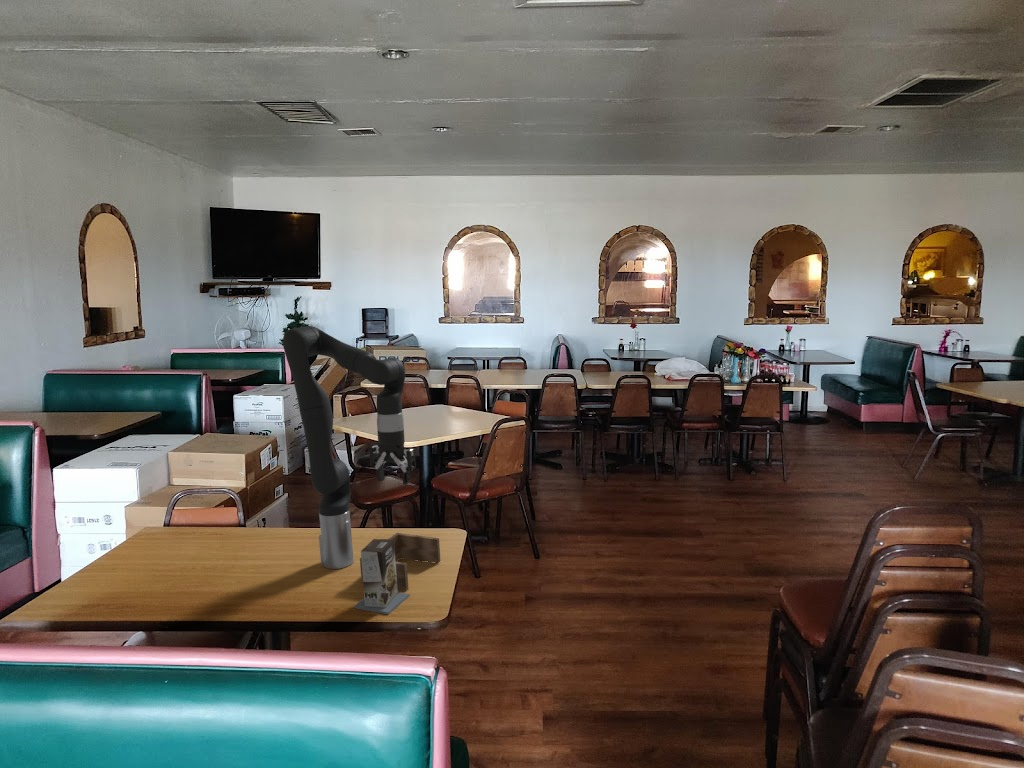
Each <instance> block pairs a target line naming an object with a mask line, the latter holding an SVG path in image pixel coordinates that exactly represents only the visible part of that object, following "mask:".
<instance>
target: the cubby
mask: <svg viewBox="0 0 1024 768" xmlns="http://www.w3.org/2000/svg"><path fill="white" fill-rule="evenodd" d="M388 539H393V540H394V548H395V562H396V575H397V589H398V591H402V592H403V591H405V592H407V591H409V577H408V576H409V575H408V563H407V562H400V561H399V560H400V559H401V558H402V559H403V560H408V559H410V561H415V560H418V561H417V562H422V561H428V562H427V563H429V562H435V563H434V564H436V563H439V562H440V561H441V549H440V548H441V547H440V546H441V545H440V538H439V537H433V536H425V535H424V536H423V535H418V534H417V535H416V534H410V533H408V534H407V533H402V532H396V533H394V534H393V535H392V536H390V537H389V538H388ZM398 559H399V560H398ZM402 559H401V560H402ZM359 563H360V565H359V566H360V576H361V585H363V574H362V561H361V557H359ZM440 563H441V562H440ZM440 563H439V564H440Z"/></svg>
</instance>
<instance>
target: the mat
mask: <svg viewBox="0 0 1024 768" xmlns="http://www.w3.org/2000/svg"><path fill="white" fill-rule="evenodd" d="M410 596H411V594H410V593H405V592H399V591H398V593H397V594H396V596H395V597H394V598H393V599H392V600H391V602H390V603H389V604H388V605H387V606H386V607H385V608H381V607H369V606H365V601H364V598H362V599H361V600H360V601H358V602H357V603H356V604H355V605H354V606H353V609H355V608H356V609H355V610H357V609H358V610H362V611H367V612H373V613H378V614H384V615H389V614H391V613H392V612H393V611H394V610H395V609H397V608H398V606H400V605H401V604H403V602H404V601H406V600H407V599H408V598H409V597H410Z"/></svg>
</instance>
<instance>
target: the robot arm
mask: <svg viewBox="0 0 1024 768" xmlns="http://www.w3.org/2000/svg"><path fill="white" fill-rule="evenodd" d="M282 345H283V351H284V354H285V358H286V361H287V365H288V367H289V371H290V374H291V377H292V381H293V385H294V389H295V393H296V398H297V401H298V402H297V403H298V408H299V414H300V418H301V423H302V427H303V430H304V436H305V441H306V447H307V451H308V453H307V454H308V458H309V460H308V461H309V469H310V470H309V473H310V479H311V483H312V486H313V488H314V490H316V491H317V493H319V494H321V495H322V497H321V499H320V502H319V503H318V515H319V526H320V535H318V544H319V555H320V562H321V563H320V565H321V566H324V567H325V568H326V569H329V570H330V569H332V570H336V569H342V568H347V567H348V566H350V565H352V564H353V563H354V562H355V558H354V548H353V546H354V545H353V535H352V525H351V517H350V516H351V513H350V501H351V498H352V497H351V496H352V495H351V494H352V493H351V476H350V471H349V468H348V466H347V464H346V463H345V462H344V461H343V460H341V459H337V458H333V453H332V436H333V429H334V428H333V427H334V416H333V411H332V406H331V405H332V404H331V400H330V396H329V395H328V394H327V392H326V391H325V389H324V388H323V386H322V385H321V384H320V383H319V382H318V381H317V380H316V378H315V377H314V374H313V372H312V370H311V369H312V368H311V366H310V362H309V358H310V357H313V356H316V355H317V356H324V357H329V358H331V359H332V360H334V361H335V362H336V364H338V365H339V366H340V367H341V368H342V369H344V370H347V371H350V372H352V373H355V374H358V375H361V376H362V377H363V378H364V379H366V380H367V381H368V382H370V383H373V384H374V385H377V386H383V389H382V390H381V391H380V392H379V393H378V394H377V395H376V416H377V417H376V429H377V444H378V445H377V444H375V445H372V446H370V447H369V466H370V467H373V468H375V471H376V479H377V481H378V482H380V483H381V482H383V481H385V467H384V466H385V464H386V463H391V464H396V465H397V467H399V468H400V470H402V473H401V474H402V485H404V486H406V485H408V484H409V483H410V482H411V471H413V470H415V469H416V468H417V463H416V454H415V453H416V452H415V449H414V448H409V449H406V448H405V446H404V445H405V440H406V439H405V424H404V415H403V407H402V406H403V403H402V402H403V401H402V396H403V395H402V394H403V391H404V385H405V381H406V380H405V379H406V369H405V366H404V364H403V362H402V360H400V359H399V358H397V357H388V358H384V359H377V358H376V356H375V354H373V353H372V352H370V351H368V350H364V349H361V348H359V347H356V346H353V345H350V344H348V343H345V342H343V341H340V340H339V339H337V338H335V337H334V336H332V335H330V334H328V333H326V332H325V331H323V330H321V329H320V328H318V327H315V326H312V325H306V326H300V327H293V328H290V329H288V330H286V331H285V333H283V338H282ZM379 454H380V457H379Z"/></svg>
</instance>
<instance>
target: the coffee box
mask: <svg viewBox="0 0 1024 768" xmlns="http://www.w3.org/2000/svg"><path fill="white" fill-rule="evenodd" d="M360 558H361V561H362V574H363V584H362V586H363V599H364V601H365V606H369V607H381V608H385V607H386V606H387V605H388V604H389V603H390V602H391V600H392V599H393V598H394V597H395V596H396V594H397V593H398V592H399V590H398V589H397V575H396V562H397V561H396V562H395V548H394V540H393V539H389V538H373V539H372V540H371V541H369V542H368V544H366V546H365V547H363V548H362V550H360Z"/></svg>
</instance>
